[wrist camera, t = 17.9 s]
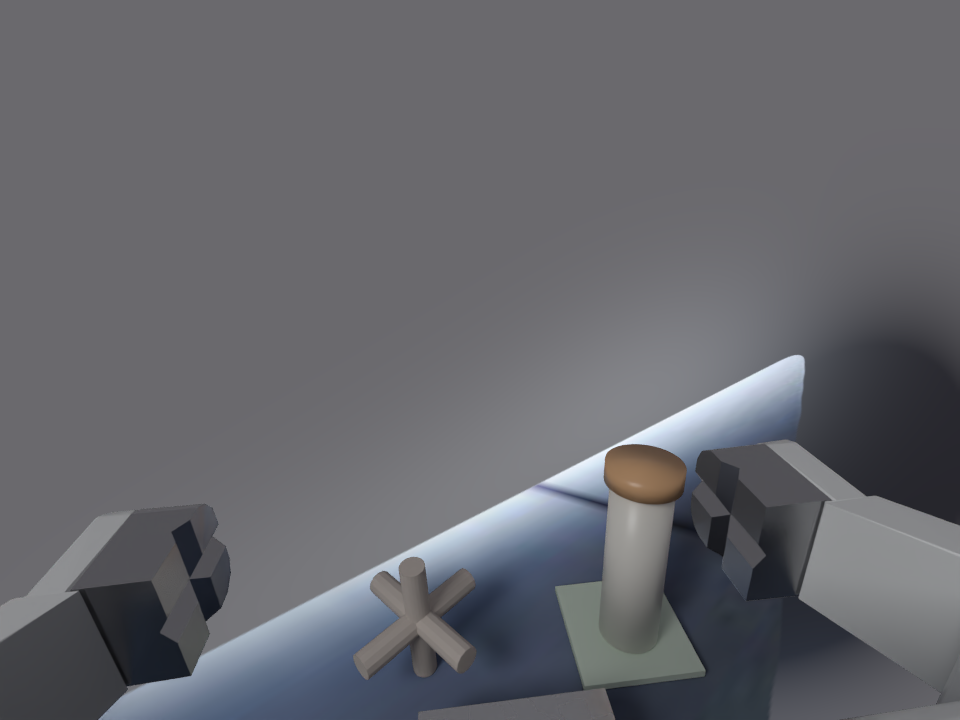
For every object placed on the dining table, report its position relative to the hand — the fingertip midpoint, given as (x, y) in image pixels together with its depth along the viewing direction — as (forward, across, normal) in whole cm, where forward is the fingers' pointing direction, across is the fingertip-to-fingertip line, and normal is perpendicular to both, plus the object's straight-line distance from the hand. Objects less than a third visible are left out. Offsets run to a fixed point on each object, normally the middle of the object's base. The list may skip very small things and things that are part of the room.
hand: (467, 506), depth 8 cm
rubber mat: (+20, +13, -31) cm, 39 cm away
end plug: (+20, +13, -30) cm, 38 cm away
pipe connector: (+20, -3, -31) cm, 37 cm away
